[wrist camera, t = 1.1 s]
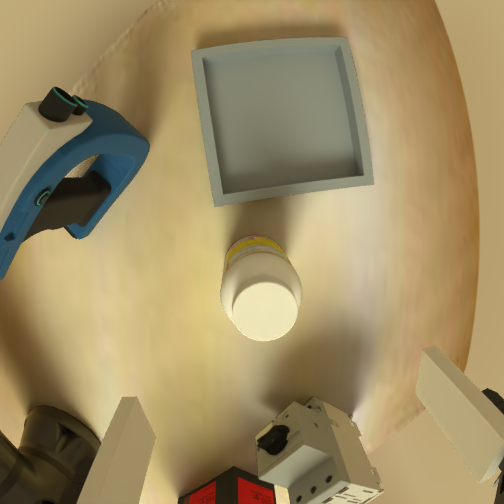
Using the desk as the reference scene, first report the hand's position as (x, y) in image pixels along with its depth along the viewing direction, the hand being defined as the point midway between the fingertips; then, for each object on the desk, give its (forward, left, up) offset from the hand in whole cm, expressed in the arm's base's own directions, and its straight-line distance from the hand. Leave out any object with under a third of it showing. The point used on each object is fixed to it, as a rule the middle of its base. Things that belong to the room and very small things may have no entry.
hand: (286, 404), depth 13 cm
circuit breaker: (+3, -23, -23) cm, 32 cm away
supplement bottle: (0, 0, -23) cm, 23 cm away
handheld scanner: (-15, +11, -23) cm, 29 cm away
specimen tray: (+5, +15, -22) cm, 28 cm away
